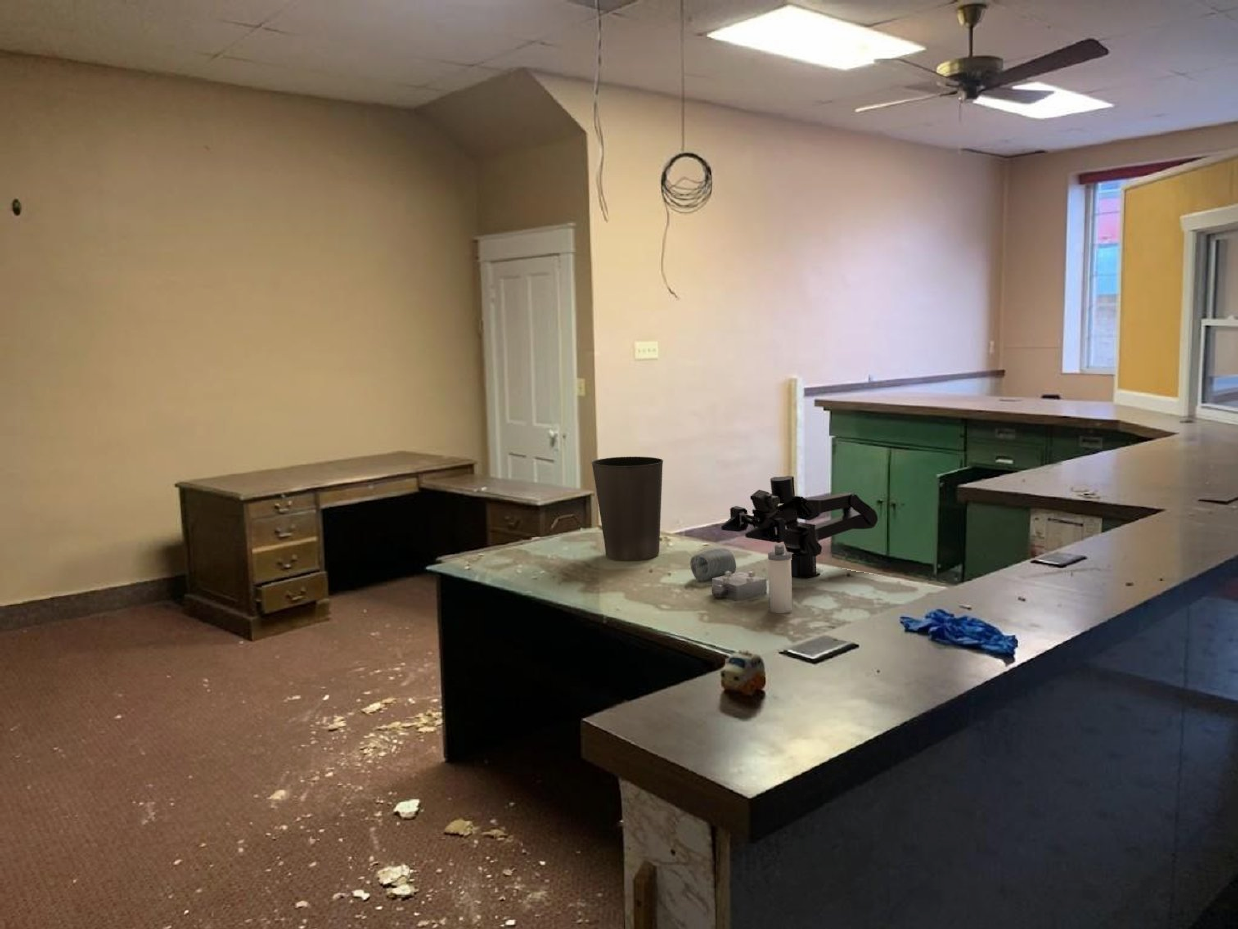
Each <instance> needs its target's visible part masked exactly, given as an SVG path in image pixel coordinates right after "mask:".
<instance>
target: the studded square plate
mask: <svg viewBox="0 0 1238 929" xmlns="http://www.w3.org/2000/svg"><path fill="white" fill-rule="evenodd" d="M711 584H712V586H711V594H712V596H713V597H714V598H715V599H716V598H720V597H723V598H727V599H730V600H732V601H736V602H741V601H743V600H748V599H753V598H755V597H759V596H763V595H767V593H768V590H767V589H768V588H767V578H766V577H761V576H757V575H756V573H755V571H748V572H743V571H739V572H734V573H733V574H732V572H730V571H727V572H725V576H721V577H716V578H712V579H711Z"/></svg>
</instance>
